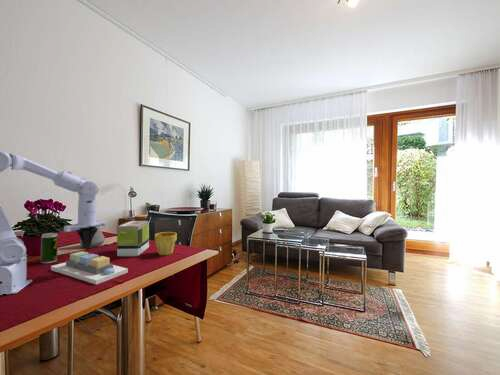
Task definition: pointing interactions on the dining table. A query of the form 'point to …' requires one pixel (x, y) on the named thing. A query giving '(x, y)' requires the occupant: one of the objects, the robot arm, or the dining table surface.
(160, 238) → the plant pot
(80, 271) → the white rectangular tray
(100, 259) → the ochre button
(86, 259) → the blue button
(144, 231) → the tea box
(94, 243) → the coffee pot
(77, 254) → the sage button
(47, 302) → the dining table surface
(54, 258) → the beer can
